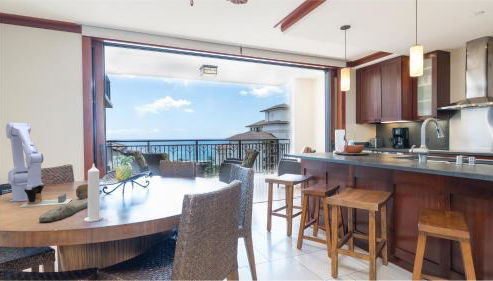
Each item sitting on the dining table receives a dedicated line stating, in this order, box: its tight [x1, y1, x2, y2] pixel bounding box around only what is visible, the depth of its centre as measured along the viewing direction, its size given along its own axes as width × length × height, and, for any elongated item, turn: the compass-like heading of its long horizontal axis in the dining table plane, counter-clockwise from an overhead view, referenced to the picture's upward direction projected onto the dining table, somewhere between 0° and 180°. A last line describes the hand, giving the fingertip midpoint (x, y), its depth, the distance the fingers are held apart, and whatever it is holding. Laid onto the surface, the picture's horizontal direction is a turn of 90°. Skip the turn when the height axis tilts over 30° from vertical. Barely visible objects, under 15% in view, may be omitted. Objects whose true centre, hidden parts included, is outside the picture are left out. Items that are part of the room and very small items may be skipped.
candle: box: [83, 162, 104, 223], centre depth 120 cm, size 7×7×25 cm
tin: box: [75, 182, 88, 200], centre depth 163 cm, size 15×3×8 cm, turn 168°
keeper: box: [26, 192, 43, 204], centre depth 146 cm, size 4×5×4 cm
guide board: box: [18, 193, 74, 208], centre depth 148 cm, size 12×21×4 cm, turn 110°
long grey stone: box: [38, 198, 88, 223], centre depth 131 cm, size 35×5×10 cm
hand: (34, 200), depth 146 cm, fingers open, 6 cm apart
